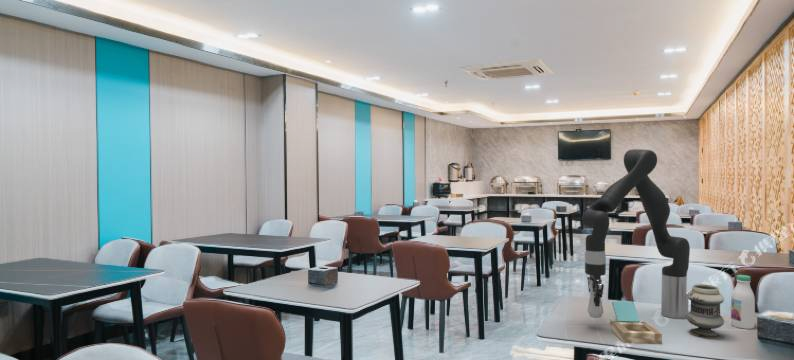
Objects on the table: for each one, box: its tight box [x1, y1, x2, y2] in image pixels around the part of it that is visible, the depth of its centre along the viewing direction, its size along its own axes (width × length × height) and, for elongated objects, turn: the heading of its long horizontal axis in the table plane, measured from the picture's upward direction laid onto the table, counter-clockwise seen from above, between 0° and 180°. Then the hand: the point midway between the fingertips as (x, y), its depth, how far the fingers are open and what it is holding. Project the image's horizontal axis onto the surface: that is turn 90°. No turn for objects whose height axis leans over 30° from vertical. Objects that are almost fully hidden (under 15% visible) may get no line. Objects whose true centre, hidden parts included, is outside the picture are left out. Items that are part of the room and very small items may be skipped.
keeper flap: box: [611, 300, 641, 323], centre depth 202 cm, size 8×9×1 cm
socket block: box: [609, 318, 663, 345], centre depth 195 cm, size 13×22×4 cm, turn 175°
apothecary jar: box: [686, 283, 725, 339], centre depth 194 cm, size 12×12×18 cm
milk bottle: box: [730, 274, 756, 330], centre depth 204 cm, size 8×8×20 cm
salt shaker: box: [587, 284, 604, 319], centre depth 202 cm, size 6×6×13 cm
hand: (595, 305), depth 202 cm, fingers closed on salt shaker, 3 cm apart
